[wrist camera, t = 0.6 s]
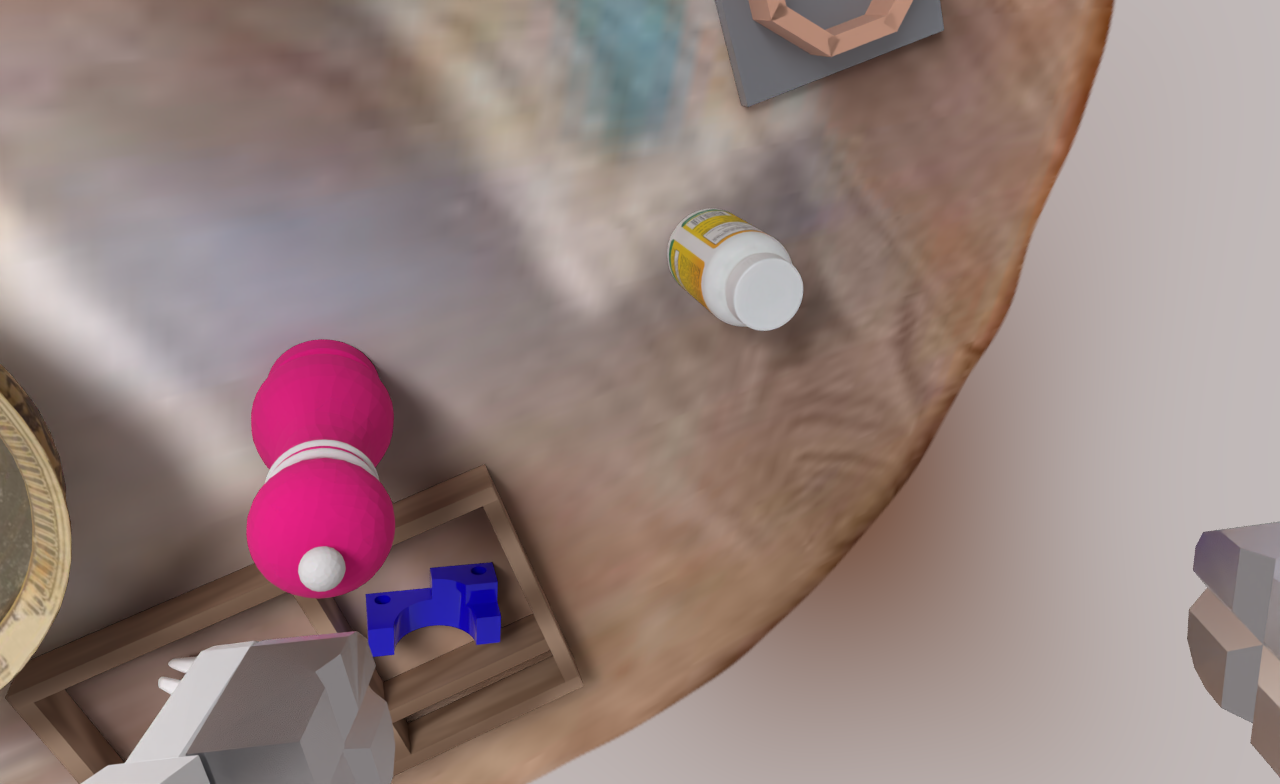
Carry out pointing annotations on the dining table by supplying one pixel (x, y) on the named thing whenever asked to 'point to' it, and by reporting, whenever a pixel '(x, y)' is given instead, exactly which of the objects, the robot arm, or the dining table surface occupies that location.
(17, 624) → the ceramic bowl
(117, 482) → the dining table surface
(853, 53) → the collar holder
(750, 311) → the supplement bottle
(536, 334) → the dining table surface
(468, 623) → the cable holder
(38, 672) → the walnut compartment tray
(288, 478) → the pepper mill
